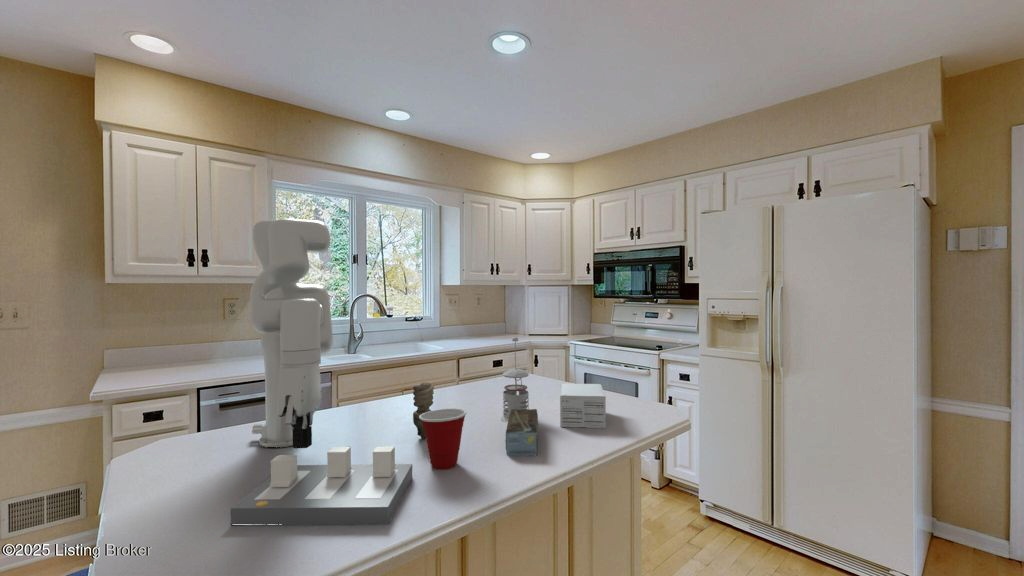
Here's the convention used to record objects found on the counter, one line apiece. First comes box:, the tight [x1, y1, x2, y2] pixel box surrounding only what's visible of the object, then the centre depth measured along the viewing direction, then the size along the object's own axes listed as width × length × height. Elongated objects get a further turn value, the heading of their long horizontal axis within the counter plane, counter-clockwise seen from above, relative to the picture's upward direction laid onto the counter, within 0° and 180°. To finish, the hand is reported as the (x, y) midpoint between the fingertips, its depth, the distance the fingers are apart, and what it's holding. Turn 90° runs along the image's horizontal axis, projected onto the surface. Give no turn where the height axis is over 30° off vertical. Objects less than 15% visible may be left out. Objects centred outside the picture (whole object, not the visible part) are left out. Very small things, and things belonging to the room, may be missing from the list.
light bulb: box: [412, 382, 435, 440], centre depth 116 cm, size 6×6×15 cm
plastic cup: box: [419, 408, 467, 471], centre depth 99 cm, size 11×11×12 cm
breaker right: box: [372, 445, 396, 477], centre depth 87 cm, size 4×4×5 cm
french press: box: [500, 336, 530, 423], centre depth 134 cm, size 10×12×25 cm
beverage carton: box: [505, 408, 539, 456], centre depth 113 cm, size 8×19×7 cm, turn 176°
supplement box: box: [559, 383, 607, 429], centre depth 132 cm, size 17×13×9 cm
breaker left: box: [270, 454, 298, 487], centre depth 83 cm, size 4×4×5 cm
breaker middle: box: [326, 446, 352, 477], centre depth 87 cm, size 4×4×5 cm
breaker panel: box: [230, 463, 413, 526], centre depth 83 cm, size 27×18×3 cm, turn 90°
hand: (302, 446), depth 90 cm, fingers closed
